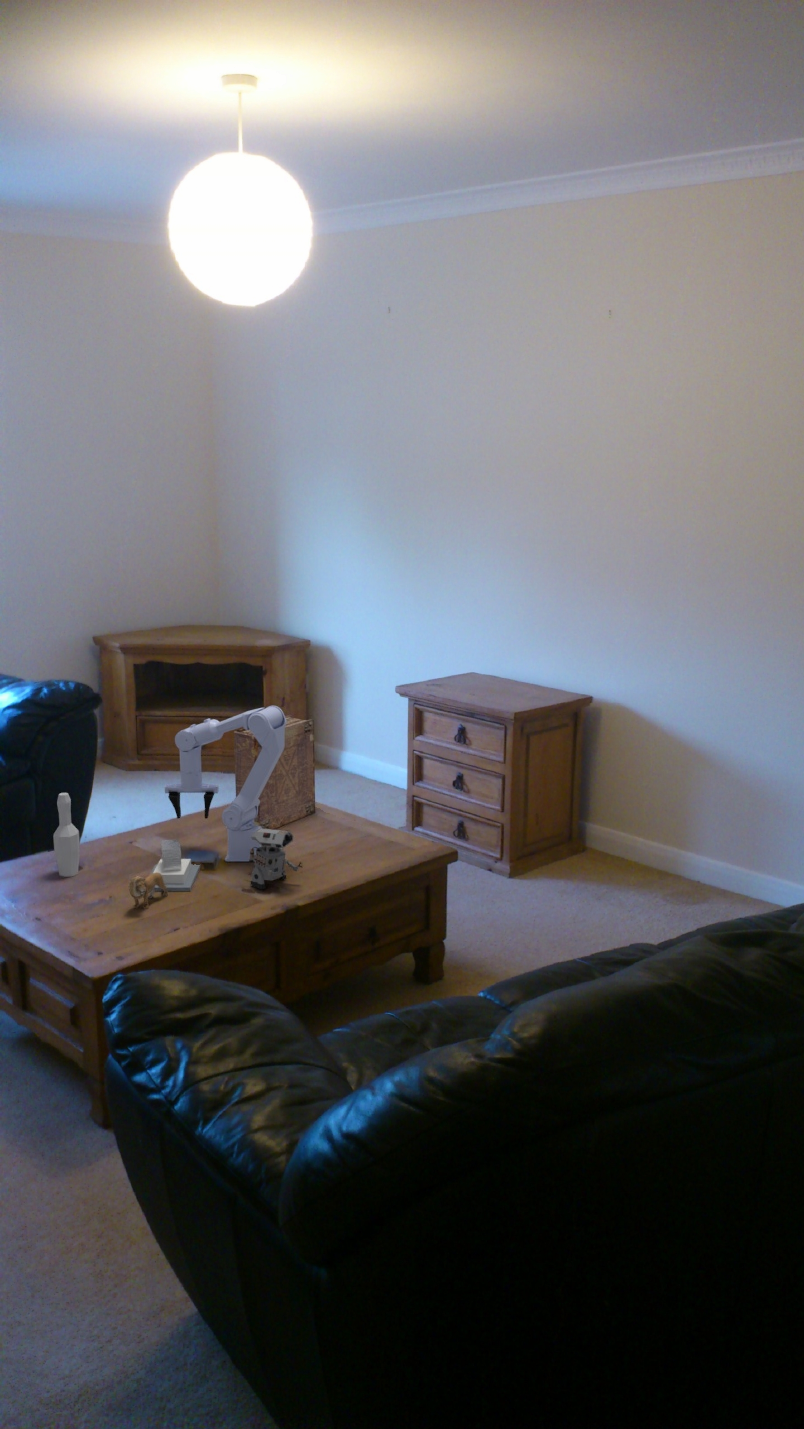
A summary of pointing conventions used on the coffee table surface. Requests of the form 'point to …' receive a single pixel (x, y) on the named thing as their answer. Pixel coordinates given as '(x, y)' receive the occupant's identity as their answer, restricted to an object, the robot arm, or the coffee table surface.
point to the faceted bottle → (66, 839)
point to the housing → (171, 855)
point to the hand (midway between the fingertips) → (192, 817)
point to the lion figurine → (146, 887)
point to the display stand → (178, 876)
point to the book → (281, 774)
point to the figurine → (270, 856)
